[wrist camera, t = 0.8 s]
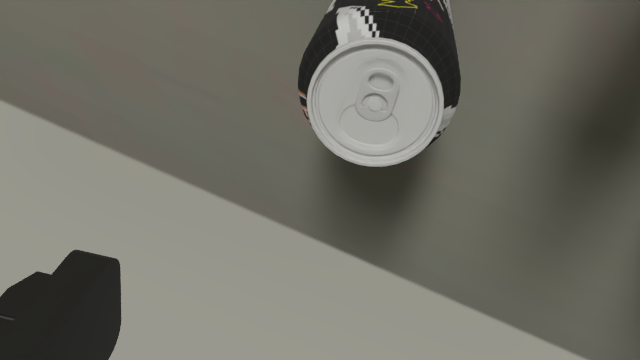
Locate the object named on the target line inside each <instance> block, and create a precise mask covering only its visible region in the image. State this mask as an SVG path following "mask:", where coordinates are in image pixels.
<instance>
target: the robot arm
mask: <svg viewBox="0 0 640 360" xmlns="http://www.w3.org/2000/svg"><path fill="white" fill-rule="evenodd" d="M120 284H121V283H120V264H119V261H118V260H117V259H115V258H111V257H106V256H102V255H98V254H93V253H89V252H84V251H80V250H74V251H72V252H71V253H70V254H69V255H68V256H67V257H66V258H65V259H64V260H63V262H62V263H61V264H60V265H59V266H58V268H57V269H56V270H55V271H54V272H53V274H52V275H50V274H46V273H42V272H35V273H34V274H32V275H30V276H29V277H27V278H25V279H23V280H22V281H20V282H18V283H16V284H15V285H13V286H11V287H9V288H8V289H7V290H6V291H5V292H4V293H3V295H2V296H1V297H0V360H108V359H109V357H110V355H111V354H112V351H113V350H114V347H115V345H116V342H117V339H118V336H119V331H120V325H121V285H120Z"/></svg>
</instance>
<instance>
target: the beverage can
mask: <svg viewBox="0 0 640 360" xmlns="http://www.w3.org/2000/svg"><path fill="white" fill-rule="evenodd" d="M460 81H461V77H460V70H459V62H458V55H457V48H456V41H455V34H454V27H453V19H452V12H451V6H450V1H449V0H333V1H332V3H331V5H330V7H329V8H328V10H327V12H326V14H325V16H324V17H323V19H322V21H321V23H320V25H319V27H318V28H317V30H316V32H315V34H314V36H313V38H312V39H311V41H310V43H309V45H308V47H307V48H306V50H305V52H304V55H303V58H302V61H301V64H300V68H299V77H298V90H299V99H300V102H301V105H302V108H303V112H304V114H305V116H306V118H307V120H308V122H309V123H310V125H311V127H312V128H313V129H314V131H315V133H316V135H317V137H318V138H319V139H320V140H321V142H322V143H323V144H324V145H325V146H326V147H327V148H328V149H329V150H331V151H332V152H333V153H334V154H336V155H337V156H339V157H341V158H343V159H344V160H346V161H349V162H352V163H355V164H357V165H363V166H369V167H385V166H390V165H395V164H398V163H401V162H404V161H407V160H409V159H410V158H412V157H414V156H415V155H417V154H419V153H420V152H421V151H422V150H423V149H425V148H426V147H428V146H429V145H430V144H431V143H433V142H434V141H435V140H436V139H437V138H438V137H439V136H440V135H441V134H442V132H443V131H444V130H445V128H446V127H447V126H448V124H449V123H450V121H451V119H452V117H453V115H454V113H455V111H456V108H457V104H458V100H459V96H460Z"/></svg>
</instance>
